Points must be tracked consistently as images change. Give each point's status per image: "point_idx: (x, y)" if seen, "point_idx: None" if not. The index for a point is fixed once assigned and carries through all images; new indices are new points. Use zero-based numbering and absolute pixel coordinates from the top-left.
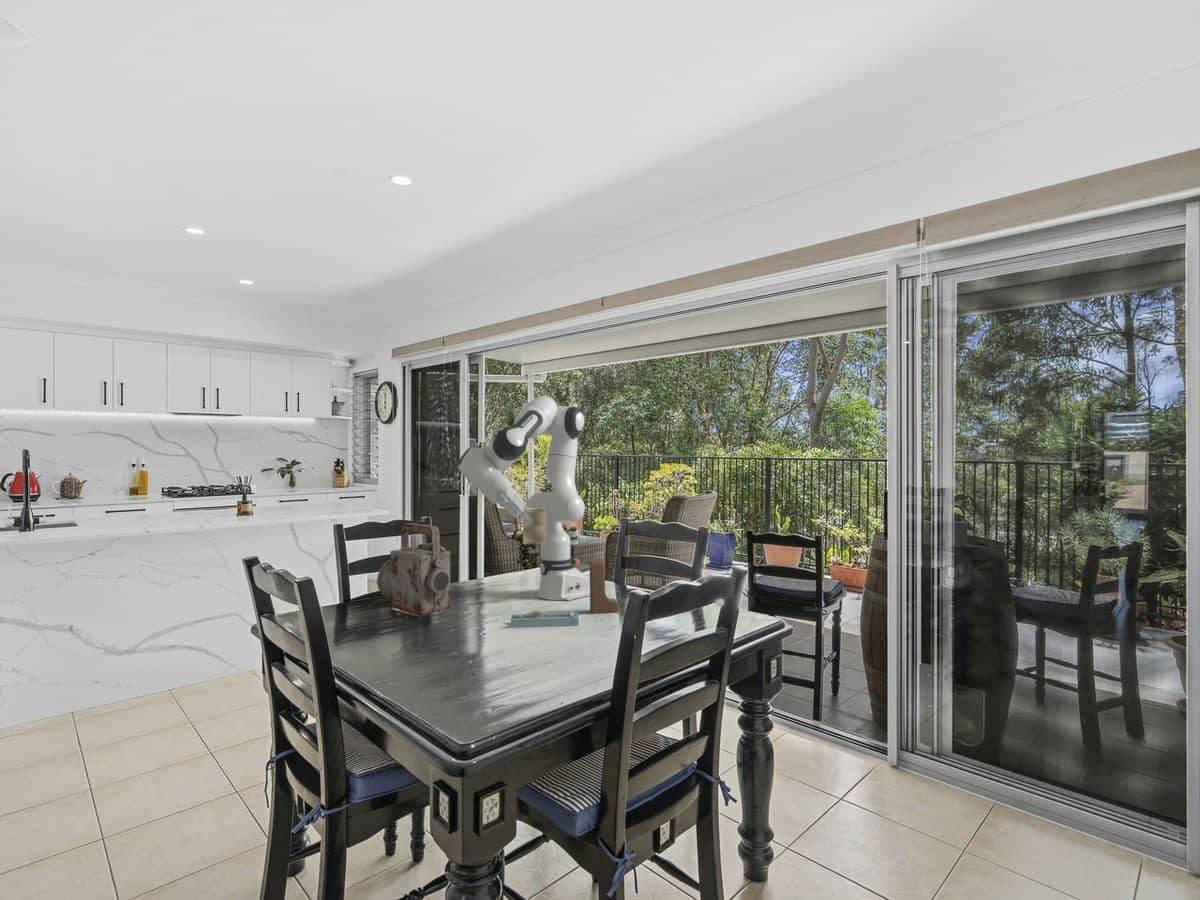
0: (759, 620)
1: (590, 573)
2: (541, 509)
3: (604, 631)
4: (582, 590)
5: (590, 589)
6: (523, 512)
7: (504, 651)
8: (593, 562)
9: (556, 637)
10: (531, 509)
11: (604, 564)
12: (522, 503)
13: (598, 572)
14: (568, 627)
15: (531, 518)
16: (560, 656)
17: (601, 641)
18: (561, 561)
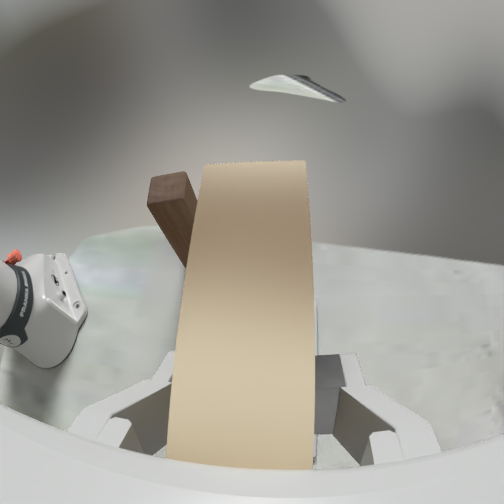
0: (277, 83)
1: (171, 223)
2: (306, 206)
3: (324, 256)
4: (58, 275)
5: (183, 247)
6: (432, 449)
7: (437, 440)
8: (177, 195)
9: (361, 349)
10: (314, 342)
11: (186, 174)
12: (67, 480)
13: (192, 201)
14: (316, 323)
15: (342, 364)
16: (463, 333)
17: (385, 264)
18: (19, 289)
